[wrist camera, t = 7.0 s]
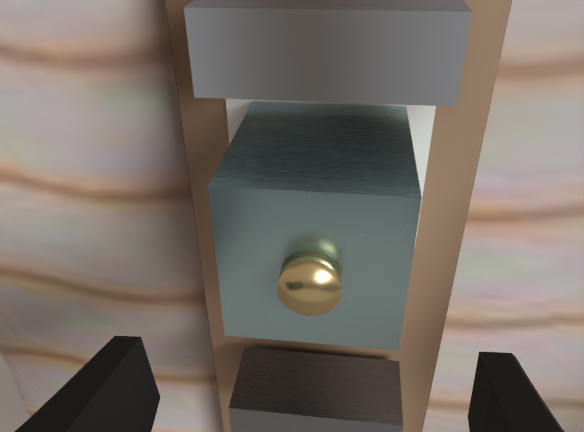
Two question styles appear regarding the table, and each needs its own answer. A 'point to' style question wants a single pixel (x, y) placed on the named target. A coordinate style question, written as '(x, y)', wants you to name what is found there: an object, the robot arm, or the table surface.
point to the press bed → (353, 91)
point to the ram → (315, 393)
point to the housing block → (316, 223)
